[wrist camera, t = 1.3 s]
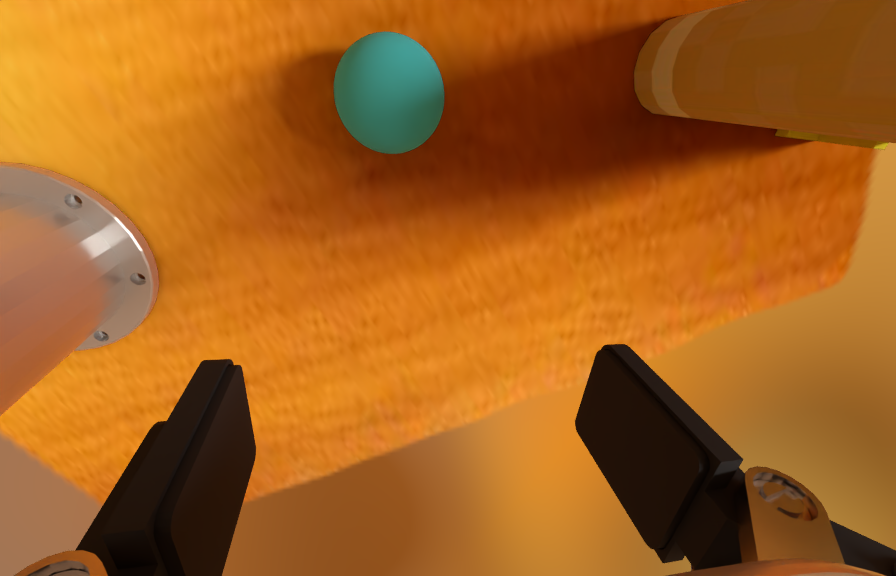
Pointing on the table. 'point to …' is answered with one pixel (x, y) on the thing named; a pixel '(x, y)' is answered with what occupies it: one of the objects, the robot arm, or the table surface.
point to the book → (779, 68)
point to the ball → (389, 92)
